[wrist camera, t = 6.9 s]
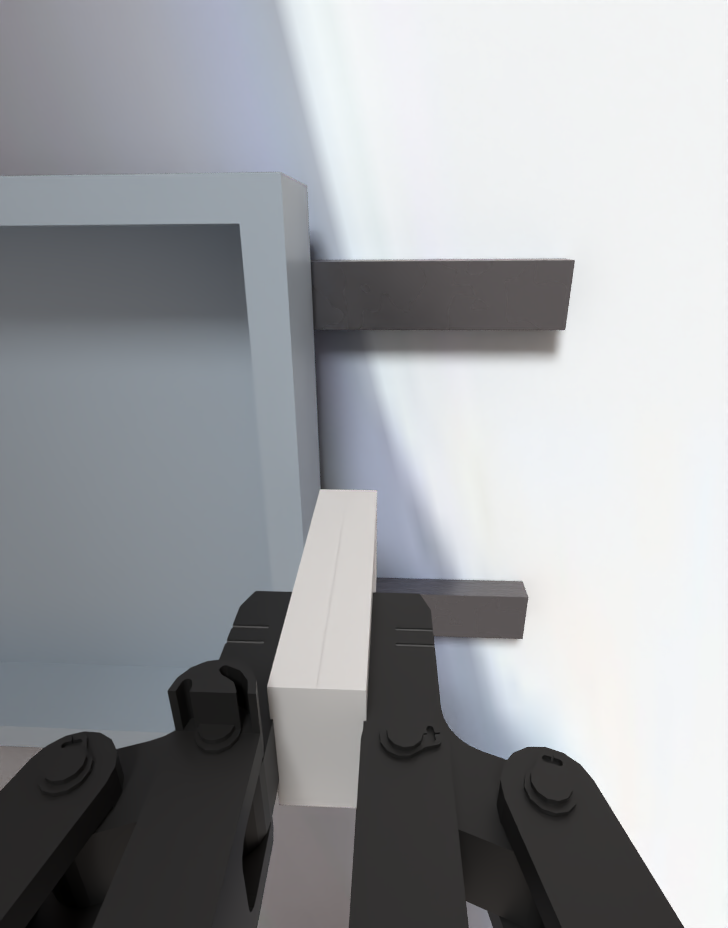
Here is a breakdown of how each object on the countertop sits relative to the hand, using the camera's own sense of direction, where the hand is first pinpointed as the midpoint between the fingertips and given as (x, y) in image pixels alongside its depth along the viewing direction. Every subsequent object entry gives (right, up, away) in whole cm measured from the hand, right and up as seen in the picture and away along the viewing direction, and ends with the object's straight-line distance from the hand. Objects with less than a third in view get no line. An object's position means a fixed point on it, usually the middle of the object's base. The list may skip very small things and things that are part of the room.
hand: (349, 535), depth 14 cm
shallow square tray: (-10, +2, +5) cm, 11 cm away
